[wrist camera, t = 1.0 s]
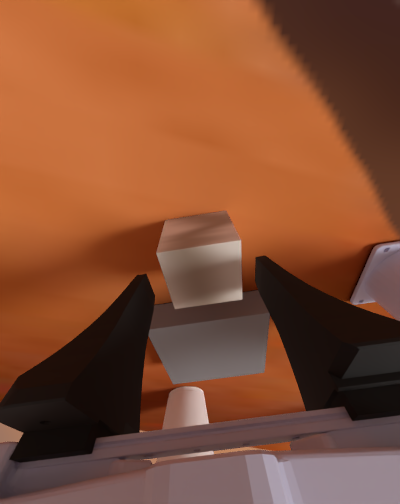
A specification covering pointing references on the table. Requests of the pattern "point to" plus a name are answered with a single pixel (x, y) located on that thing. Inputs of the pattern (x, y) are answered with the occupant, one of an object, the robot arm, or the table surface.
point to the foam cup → (185, 414)
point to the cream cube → (201, 259)
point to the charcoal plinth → (211, 338)
